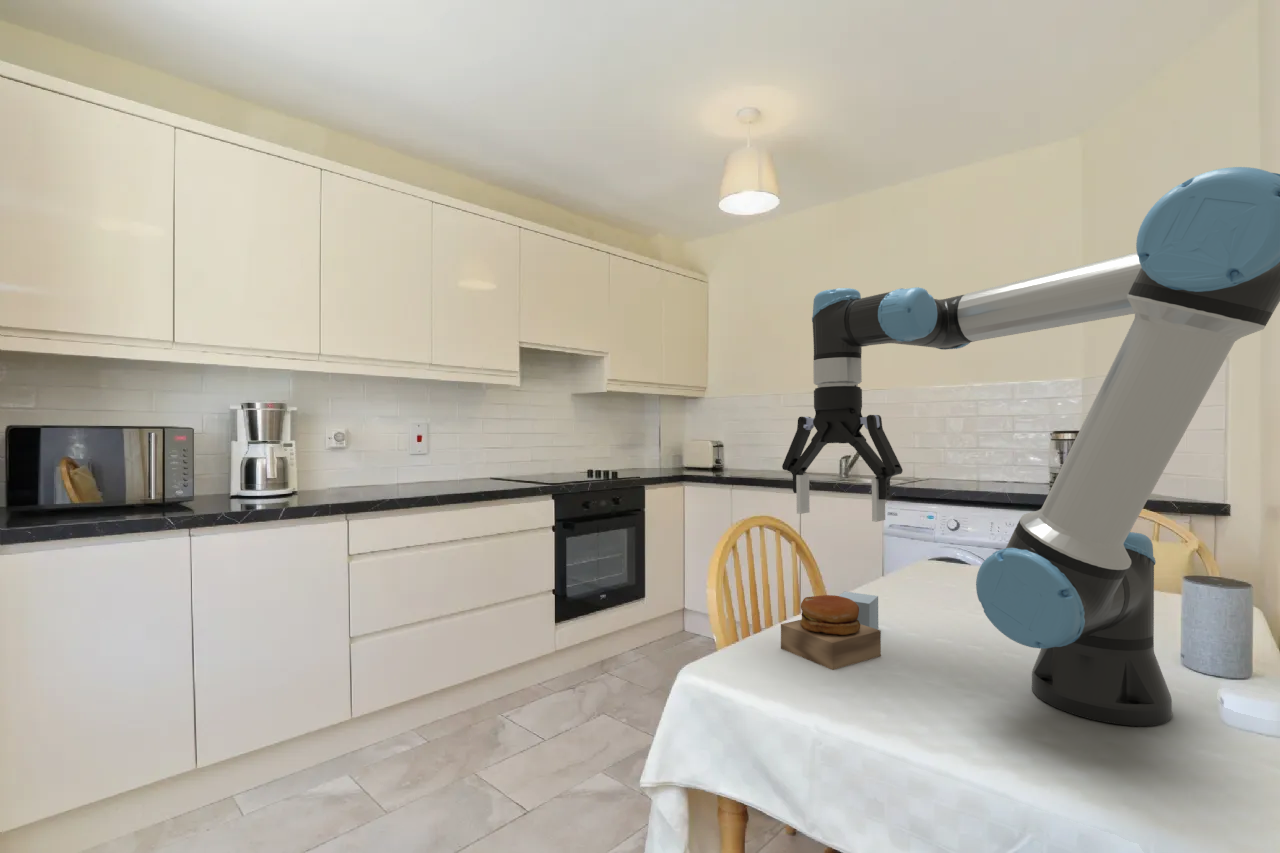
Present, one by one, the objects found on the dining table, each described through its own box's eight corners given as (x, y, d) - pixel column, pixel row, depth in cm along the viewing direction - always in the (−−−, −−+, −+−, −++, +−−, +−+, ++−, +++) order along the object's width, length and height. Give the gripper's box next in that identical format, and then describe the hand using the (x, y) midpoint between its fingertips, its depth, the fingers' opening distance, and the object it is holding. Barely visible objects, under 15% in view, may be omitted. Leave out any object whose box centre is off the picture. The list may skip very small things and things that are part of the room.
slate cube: (878, 629, 116) (878, 595, 116) (869, 638, 111) (869, 603, 111) (844, 623, 120) (844, 591, 120) (834, 632, 115) (834, 598, 115)
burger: (866, 637, 99) (866, 607, 99) (804, 636, 100) (804, 606, 100) (853, 618, 109) (852, 591, 109) (797, 617, 110) (796, 590, 110)
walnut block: (880, 658, 103) (880, 630, 103) (832, 673, 97) (832, 643, 97) (827, 639, 112) (827, 613, 112) (780, 651, 106) (780, 624, 106)
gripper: (924, 382, 98) (926, 521, 98) (786, 391, 117) (788, 508, 117) (901, 380, 93) (903, 527, 93) (761, 389, 112) (762, 512, 112)
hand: (839, 516), depth 105 cm, fingers open, 13 cm apart
